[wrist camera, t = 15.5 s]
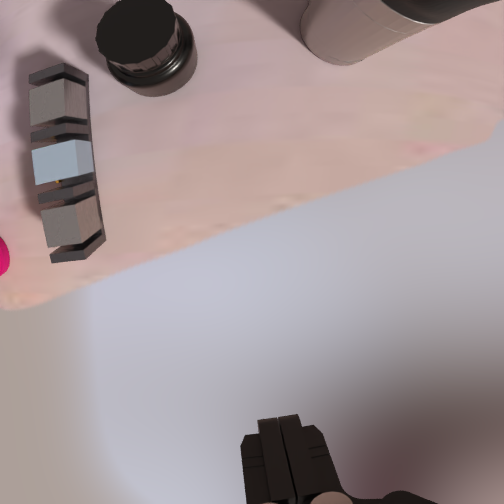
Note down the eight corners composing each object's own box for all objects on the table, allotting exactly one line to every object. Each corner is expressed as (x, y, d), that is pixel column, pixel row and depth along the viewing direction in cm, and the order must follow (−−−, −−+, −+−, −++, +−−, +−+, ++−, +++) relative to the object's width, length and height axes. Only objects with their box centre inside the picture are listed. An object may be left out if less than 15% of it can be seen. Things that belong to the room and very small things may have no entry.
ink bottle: (192, 18, 30) (183, -30, 18) (209, 83, 33) (205, 55, 21) (113, 44, 30) (74, 9, 18) (127, 109, 32) (88, 94, 21)
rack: (54, 84, 30) (26, 76, 23) (88, 74, 30) (63, 62, 24) (73, 244, 37) (48, 263, 30) (106, 240, 37) (85, 259, 30)
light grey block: (53, 150, 31) (31, 150, 25) (90, 141, 32) (74, 139, 26) (57, 179, 32) (35, 185, 26) (94, 171, 33) (78, 175, 27)
